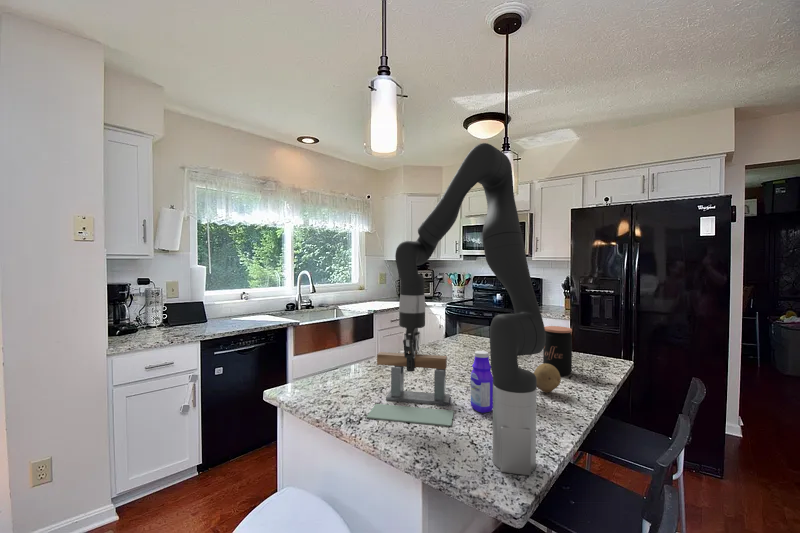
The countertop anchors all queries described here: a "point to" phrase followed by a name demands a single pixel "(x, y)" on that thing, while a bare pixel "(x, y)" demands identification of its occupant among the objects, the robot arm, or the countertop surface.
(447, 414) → the mat
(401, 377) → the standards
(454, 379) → the countertop surface
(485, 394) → the bottle
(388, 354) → the rail
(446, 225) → the robot arm
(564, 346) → the coffee jar
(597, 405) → the countertop surface
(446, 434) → the countertop surface
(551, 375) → the tan round lump
